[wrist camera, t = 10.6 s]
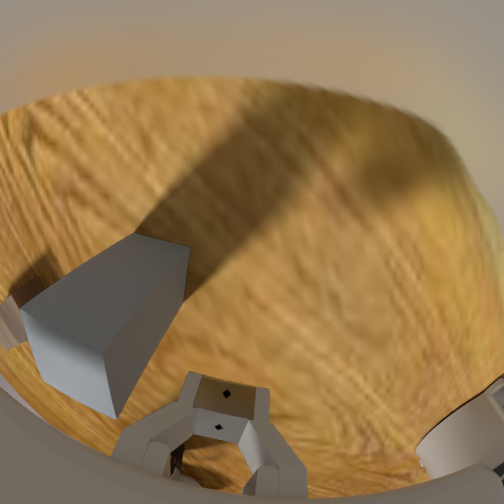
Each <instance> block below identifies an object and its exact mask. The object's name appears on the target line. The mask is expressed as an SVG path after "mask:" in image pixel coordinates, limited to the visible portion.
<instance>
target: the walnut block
mask: <svg viewBox="0 0 504 504" xmlns="http://www.w3.org/2000/svg"><path fill="white" fill-rule="evenodd" d="M44 290H45V288H44V286H43V285H42V283H41V281H40V279H39V277H36V278H35V279H33V280H32V281H30V282H29V283H27V284H26V285H24V286H23V287H21V288H20V289H18V290H17V291H15V292H14V293H12V294H11V295H10V296H9V297H8V298H7V299H6V300H5V301H4V302H3V303H2V304H1V305H0V344H1V345H2V347H3V348H4V350H5V351H6V350H8V349H10V348H12V347H14V346H17V345H19V344H21V343H23V342H25V341H27V340H28V337H27V334H26V330H25V327H24V323H23V319H22V315H21V311H20V308H21V307H22V306H24V305H25V304H26V303H28V302H29V301H30V300H32V299H33V298H34V297H36V296H37V295H38V294H40V293H41V292H42V291H44Z"/></svg>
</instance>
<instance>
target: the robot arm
mask: <svg viewBox="0 0 504 504" xmlns="http://www.w3.org/2000/svg"><path fill="white" fill-rule="evenodd" d="M269 403H270V390H269V389H268V388H262V387H255V386H251V385H246V384H241V383H236V382H231V381H226V380H222V379H218V378H214V377H211V376H207V375H204V374H199V373H196V372H193V371H189V372H188V374H187V376H186V379H185V382H184V384H183V387H182V390H181V392H180V395H179V398H178V401H177V402H171V403H169V404H168V405H166V406H164V407H162V408H161V409H159V410H157V411H155V412H154V413H152V414H150V415H148V416H147V417H145V418H143V419H141V420H139V421H137V422H136V423H134V424H132V425H130V426H128V427H126V428H124V430H123V432H122V434H121V436H120V438H119V440H118V442H117V444H116V446H115V448H114V450H113V452H112V454H111V456H110V457H109V456H107V455H105V454H103V453H101V452H99V451H97V450H95V449H92V448H91V447H89V446H87V445H85V444H83V443H81V442H79V441H77V440H75V439H74V438H72V437H70V436H68V435H67V434H65V433H63V432H62V431H60V430H58V429H57V428H55V427H54V426H52V425H50V424H49V423H47V422H46V421H44V420H43V419H41V418H40V417H38V416H37V415H35V414H34V413H32V412H31V411H30V410H28V409H27V408H26V407H24V406H23V405H22V404H20V403H19V402H18V401H17V400H15V399H14V398H13V397H11V396H10V395H9V394H8V393H7V392H6V391H4V390H3V389H2V388H1V387H0V504H504V378H500V379H498V380H497V381H496V382H495V383H493V384H492V385H491V386H490V387H489V388H488V389H487V390H486V391H485V392H484V393H482V394H481V395H480V396H478V397H477V398H475V399H473V400H472V401H470V402H469V403H467V404H466V405H464V406H463V407H461V408H460V409H458V410H457V411H455V412H454V413H453V414H451V415H450V416H449V417H447V418H446V419H445V420H444V421H442V422H441V423H440V424H439V425H438V426H436V427H435V428H434V429H433V430H432V431H431V432H430V433H429V434H428V435H427V436H426V437H425V438H424V439H423V440H422V441H421V442H420V444H419V445H418V447H417V449H416V455H417V456H418V457H419V458H420V461H419V463H420V465H421V467H425V469H426V471H427V473H428V475H429V477H430V481H426V482H423V483H419V484H415V485H411V486H407V487H403V488H398V489H394V490H389V491H383V492H377V493H371V494H364V495H356V496H346V497H334V498H308V488H307V468H306V467H305V466H304V464H303V463H302V462H301V461H300V459H299V458H298V457H297V455H296V454H295V453H294V451H293V450H292V449H291V448H290V446H289V445H288V444H287V442H286V441H285V440H284V438H283V437H282V435H281V434H280V433H279V431H278V430H277V429H276V427H275V426H274V424H273V423H269ZM193 434H196V435H200V436H204V437H209V438H214V439H218V440H223V441H227V442H232V443H236V444H238V446H239V448H240V450H241V452H242V454H243V456H244V458H245V460H246V462H247V464H248V466H249V468H250V470H251V471H252V473H253V476H252V477H251V478H250V479H249V481H248V482H247V483H246V485H245V486H244V487H243V488H242V494H236V493H229V492H223V491H218V490H213V489H208V488H203V487H198V486H194V485H190V484H186V483H182V482H179V481H175V480H172V479H169V477H170V474H171V473H170V453H171V452H172V451H173V450H174V449H176V448H177V447H178V446H180V445H181V444H182V443H183V442H185V441H186V440H187V439H188V438H190V437H191V436H192V435H193Z"/></svg>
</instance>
